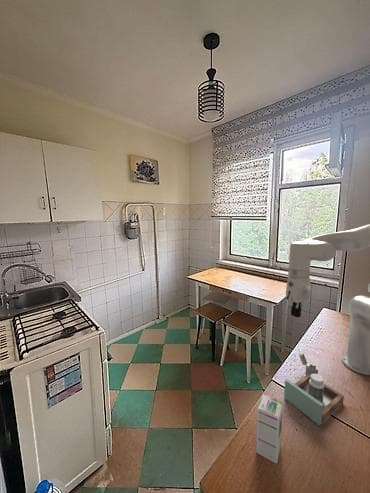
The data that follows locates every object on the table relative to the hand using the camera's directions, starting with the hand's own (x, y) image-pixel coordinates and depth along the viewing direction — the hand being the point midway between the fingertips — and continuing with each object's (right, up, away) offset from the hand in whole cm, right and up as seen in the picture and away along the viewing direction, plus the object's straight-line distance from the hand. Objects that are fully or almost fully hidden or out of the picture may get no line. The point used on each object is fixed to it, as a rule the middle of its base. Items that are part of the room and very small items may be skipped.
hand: (295, 315), depth 89 cm
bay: (+1, -27, -11) cm, 29 cm away
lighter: (+6, -25, +2) cm, 26 cm away
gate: (-6, -27, -15) cm, 32 cm away
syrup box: (-22, -30, -27) cm, 46 cm away
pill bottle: (+2, -27, -10) cm, 29 cm away
